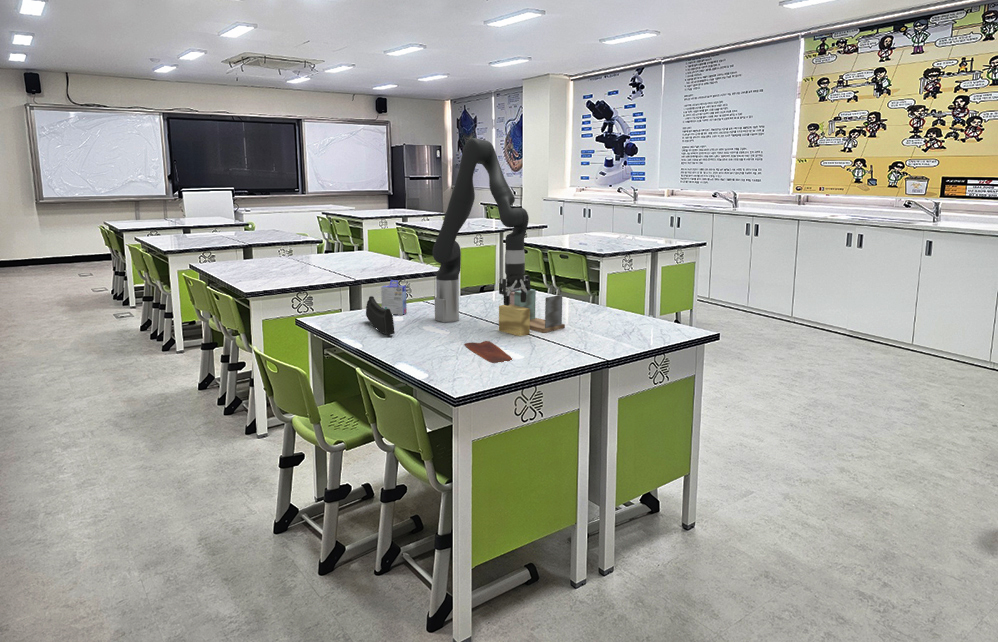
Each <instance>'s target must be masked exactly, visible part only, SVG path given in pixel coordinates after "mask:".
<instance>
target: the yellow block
mask: <svg viewBox="0 0 998 642" xmlns="http://www.w3.org/2000/svg"><path fill="white" fill-rule="evenodd" d="M498 331H499V332H503V333H507V334H510V335H514V336H518V337H523V336H528V335H530V332H531V331H530V309H529V308H524V307H520V306H515V305H511V304H509V305H508V306H506V305H504V304H502V305H501V304H500V305H499V306H498Z"/></svg>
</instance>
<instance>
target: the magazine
mask: <svg viewBox="0 0 998 642" xmlns="http://www.w3.org/2000/svg"><path fill="white" fill-rule="evenodd" d="M365 316H366V318H367V320H368V321H369V323H370V324H371V325H372V327H373V326H374V327H375V328H377V329H378V330H379V331H380V332H379V331H378V330H377V331H378V332H379V333H381V332H382V333H381V334H385V335H389V336H390V335H395V323H394V315H392V313H391V311H390V309H384V308H382V305H380V304H379V303H378V302H377V301H376V299H375V296H373V295H370V296H369V297H368V300H367V302H366V306H365ZM375 328H374V329H375Z"/></svg>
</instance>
